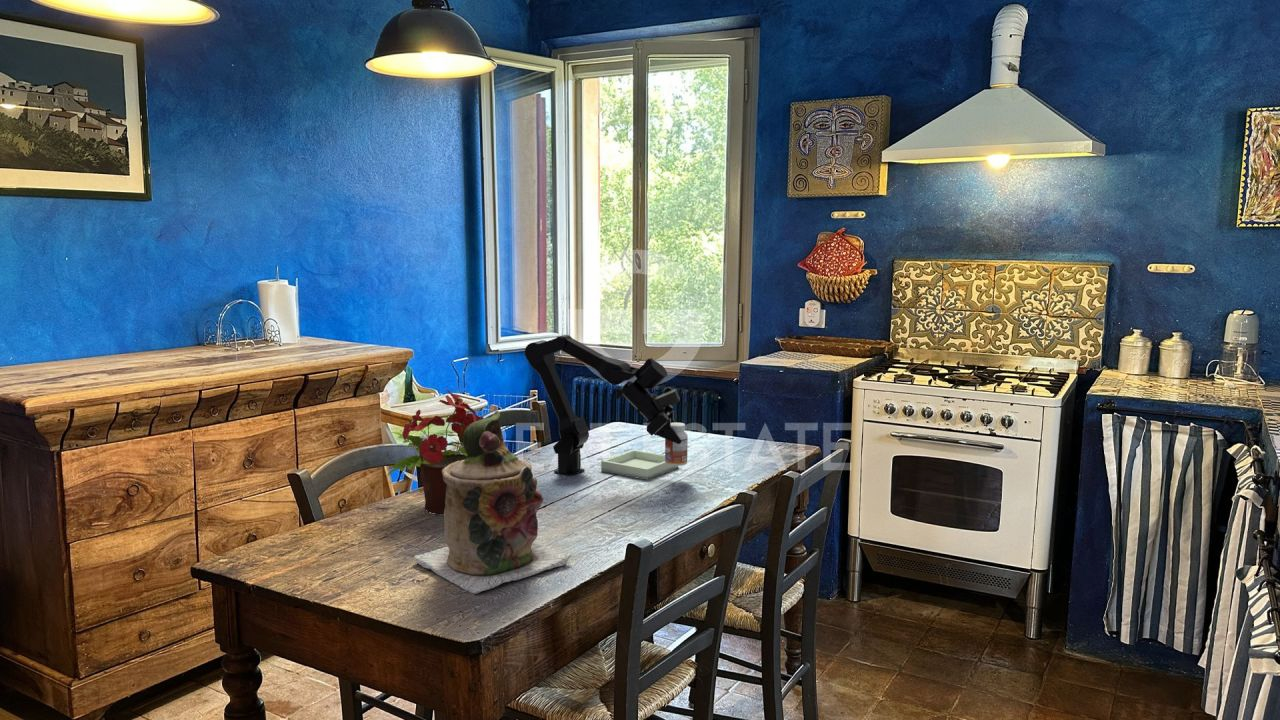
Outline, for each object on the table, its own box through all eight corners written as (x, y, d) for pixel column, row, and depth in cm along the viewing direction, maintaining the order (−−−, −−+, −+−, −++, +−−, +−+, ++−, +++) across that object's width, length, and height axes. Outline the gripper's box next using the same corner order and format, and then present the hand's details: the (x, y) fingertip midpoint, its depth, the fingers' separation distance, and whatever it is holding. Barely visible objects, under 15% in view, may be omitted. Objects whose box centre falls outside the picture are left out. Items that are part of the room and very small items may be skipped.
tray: (647, 479, 247) (647, 469, 247) (601, 471, 256) (601, 460, 256) (678, 467, 260) (678, 457, 260) (633, 459, 269) (633, 449, 269)
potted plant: (479, 526, 209) (475, 400, 205) (373, 519, 214) (367, 396, 210) (520, 490, 238) (518, 379, 233) (426, 484, 243) (422, 376, 238)
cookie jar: (409, 563, 186) (403, 413, 181) (505, 535, 203) (502, 397, 198) (477, 598, 169) (472, 433, 164) (576, 564, 186) (574, 413, 181)
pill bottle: (663, 460, 248) (663, 421, 247) (685, 460, 249) (685, 421, 247) (666, 466, 242) (666, 426, 241) (688, 466, 243) (689, 426, 241)
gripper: (659, 385, 233) (700, 428, 234) (665, 373, 252) (704, 413, 252) (629, 414, 235) (670, 456, 236) (637, 400, 254) (676, 439, 254)
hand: (681, 440), depth 244 cm, fingers closed on pill bottle, 6 cm apart
